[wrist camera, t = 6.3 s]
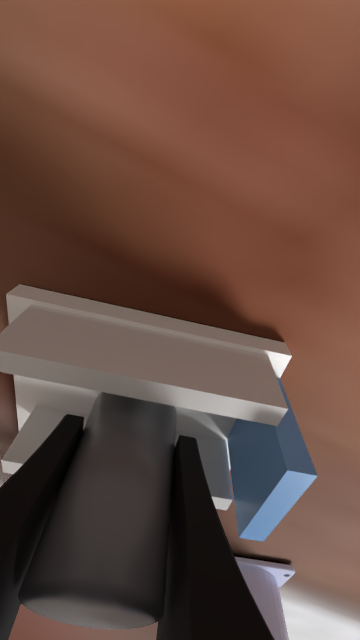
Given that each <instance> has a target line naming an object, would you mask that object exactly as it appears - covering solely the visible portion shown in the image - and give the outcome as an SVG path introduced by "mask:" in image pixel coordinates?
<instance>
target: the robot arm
mask: <svg viewBox="0 0 360 640" xmlns="http://www.w3.org/2000/svg"><path fill="white" fill-rule="evenodd" d="M83 426H84V417H82V416H77V415H72V414H67V415H65V416H64V417H63V418H62V420H61V421H60V422H59V424H58V425H57V426H56V428H55V429H54V430H53V431H52V432H51V434H50V435H49V436H48V437H47V438H46V440H45V441H44V442H43V443H42V444H41V445H40V446H39V448H38V449H37V450H36V451H35V452H34V453H33V454H32V455H31V456H30V457H29V458H28V460H27V461H26V462H25V463H24V464H23V465H22V466H21V467H20V468H19V469H18V470H17V471H16V472H15V473H14V474H13V475H12V476H11V477H10V478H9V479H8V480H7V481H6V482H5V483H4V484H3V485H2V486H1V487H0V640H8V638H9V636H10V633H11V629H12V627H13V624H14V621H15V618H16V615H17V613H18V610H19V607H20V604H21V602H20V601H19V599H18V593H19V590H20V588H21V585H22V583H23V580H24V578H25V575H26V572H27V570H28V567H29V565H30V562H31V560H32V557H33V555H34V552H35V550H36V547H37V545H38V542H39V540H40V537H41V535H42V532H43V530H44V527H45V525H46V522H47V520H48V517H49V515H50V512H51V510H52V507H53V505H54V502H55V500H56V497H57V495H58V492H59V490H60V487H61V485H62V482H63V480H64V477H65V475H66V472H67V470H68V467H69V465H70V462H71V460H72V457H73V455H74V452H75V450H76V447H77V445H78V442H79V440H80V437H81V435H82V432H83ZM294 574H295V569H294V567H293V566H292V565H286V564H280V563H274V562H267V561H261V560H254V559H248V558H242V557H235V556H234V555H233V552H232V550H231V548H230V545H229V543H228V540H227V538H226V535H225V533H224V530H223V527H222V525H221V522H220V519H219V517H218V514H217V511H216V508H215V505H214V502H213V499H212V496H211V493H210V490H209V487H208V483H207V480H206V477H205V473H204V469H203V466H202V462H201V458H200V453H199V449H198V444H197V440H196V438H194V437H189V436H183V435H179V438H178V441H177V443H176V446H175V454H174V469H173V484H172V499H171V514H170V529H169V543H168V558H167V573H166V588H165V603H164V615H163V617H162V618H161V619H160V620H159V621H158V629H157V640H289V638H288V633H287V628H286V623H285V618H284V613H283V608H282V603H281V598H280V593H279V588H280V587H281V586H282V585H283V584H284V583H285V582H286V581H287V580H288V579H289V578H290V577H292V576H293V575H294Z"/></svg>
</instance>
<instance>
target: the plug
mask: <svg viewBox="0 0 360 640" xmlns="http://www.w3.org/2000/svg"><path fill="white" fill-rule="evenodd" d="M176 424H177V411H176V408H175V406H171V405H166V404H161V403H156V402H151V401H146V400H141V399H136V398H131V397H125V396H120V395H115V394H110V393H105V392H101V393H100V394H99V395H98V397H97V398H96V400H95V402H94V405H93V407H92V410H91V412H90V415H89V417H88V420H87V422H86V425H85V427H84V430H83V432H82V435H81V437H80V440H79V442H78V445H77V447H76V450H75V452H74V455H73V457H72V460H71V462H70V465H69V467H68V470H67V472H66V475H65V477H64V480H63V482H62V485H61V487H60V490H59V492H58V495H57V497H56V500H55V502H54V505H53V507H52V510H51V512H50V515H49V517H48V520H47V522H46V525H45V527H44V530H43V532H42V535H41V537H40V540H39V542H38V545H37V547H36V550H35V552H34V555H33V557H32V560H31V562H30V565H29V567H28V570H27V572H26V575H25V578H24V580H23V583H22V585H21V588H20V590H19V593H18V599H19V601H20V602H21V604H23V605H24V606H25V607H26V608H28V609H29V610H31V611H32V612H34V613H36V614H38V615H41V616H43V617H46V618H49V619H52V620H55V621H59V622H62V623H67V624H71V625H76V626H82V627H89V628H98V629H99V628H100V629H131V628H139V627H144V626H148V625H151V624H153V623H155V622H157V621H159V620H160V619H161V618H162V617H163V615H164V603H165V588H166V573H167V558H168V543H169V529H170V514H171V499H172V484H173V469H174V454H175V439H176Z"/></svg>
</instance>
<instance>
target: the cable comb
mask: <svg viewBox="0 0 360 640" xmlns="http://www.w3.org/2000/svg"><path fill="white" fill-rule="evenodd" d="M6 299H7V310H8V321H9V325H8V326H7V327H6V328H5V329H4V330H3V331H2V332H1V333H0V372H3V373H8V374H13V375H14V385H15V396H16V407H17V417H18V428H19V433H18V434H17V436H16V438H15V439H14V441H13V442H12V444H11V445H10V447H9V449H8V450H7V452H6V453H5V455H4V456H3V458H2V460H1V462H2V469H3V473H9V474H14V473H15V472H16V471H17V470H18V469H19V468H20V467H21V466H22V465H23V464H24V463H25V462H26V461H27V460H28V458H29V457H30V456H31V455H32V454H33V453H34V452H35V451H36V450H37V449H38V448H39V446H40V445H41V444H42V443H43V442H44V441H45V440H46V438H47V437H48V436H49V435H50V434H51V432H52V431H53V430H54V429H55V428H56V426H57V425H58V424H59V422H60V421H61V420H62V418H63V417H64V416H65V415H67V414H72V415H77V416H82V417H84V426H83V430H84V427H85V425H86V422H87V420H88V417H89V415H90V412H91V410H92V407H93V405H94V402H95V400H96V398H97V397H98V395H99V394H100V393H101V392H105V393H110V394H115V395H120V396H125V397H131V398H136V399H141V400H146V401H151V402H156V403H161V404H166V405H171V406H175V408H176V411H177V424H176V439H175V446H176V443H177V441H178V438H179V435H183V436H189V437H194V438H196V440H197V444H198V449H199V453H200V458H201V462H202V466H203V469H204V473H205V477H206V480H207V483H208V487H209V490H210V493H211V496H212V499H213V502H214V505H215V508H216V509H222V510H227V509H228V507H229V505H230V504H231V502H232V501H233V498H232V489H231V480H230V469H231V475H232V483H233V491H234V500H235V508H236V517H237V525H238V533H239V538H244V539H250V540H256V541H264V540H265V539H266V538H267V536H268V535H269V534H270V533H271V532H272V530H273V529H274V528H275V527H276V526H277V524H278V523H279V522H280V521H281V520H282V518H283V517H284V516H285V515H286V514H287V512H288V511H289V510H290V509H291V507H292V506H293V505H294V504H295V503H296V501H297V500H298V499H299V498H300V497H301V495H302V494H303V493H304V492H305V491H306V489H307V488H308V487H309V486H310V485H311V483H312V482H313V481H314V480H315V478H316V477H317V473H316V470H315V468H314V465H313V463H312V460H311V458H310V455H309V452H308V450H307V447H306V445H305V442H304V440H303V437H302V434H301V432H300V429H299V427H298V424H297V421H296V419H295V416H294V414H293V411H292V409H291V406H290V403H289V401H288V398H287V396H286V393H285V391H284V388H283V385H282V383H281V380H280V377H281V375H282V373H283V371H284V370H285V368H286V366H287V364H288V362H289V360H290V359H291V357H292V355H291V353H290V351H289V349H288V347H287V345H286V343H284V342H280V341H275V340H270V339H266V338H261V337H257V336H252V335H248V334H243V333H239V332H234V331H230V330H225V329H221V328H216V327H212V326H207V325H202V324H198V323H193V322H189V321H184V320H180V319H175V318H171V317H166V316H162V315H157V314H153V313H148V312H143V311H139V310H134V309H130V308H125V307H121V306H116V305H112V304H107V303H103V302H98V301H94V300H89V299H85V298H80V297H75V296H71V295H66V294H62V293H57V292H53V291H48V290H44V289H39V288H35V287H30V286H26V285H21V284H19V285H18V286H16V287H15V288H14V289H12V290H11V291H10V292H8V293H7V294H6Z"/></svg>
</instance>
